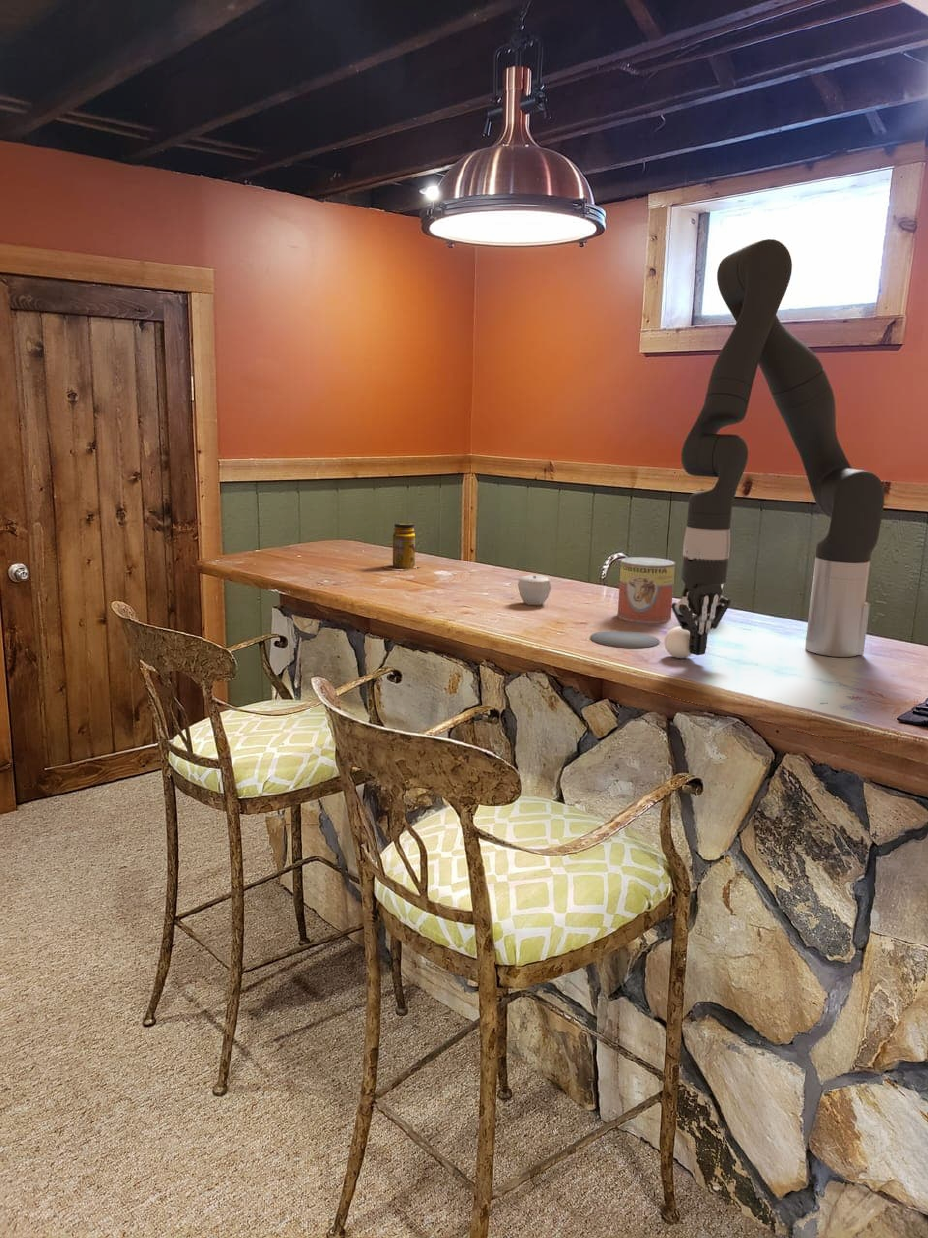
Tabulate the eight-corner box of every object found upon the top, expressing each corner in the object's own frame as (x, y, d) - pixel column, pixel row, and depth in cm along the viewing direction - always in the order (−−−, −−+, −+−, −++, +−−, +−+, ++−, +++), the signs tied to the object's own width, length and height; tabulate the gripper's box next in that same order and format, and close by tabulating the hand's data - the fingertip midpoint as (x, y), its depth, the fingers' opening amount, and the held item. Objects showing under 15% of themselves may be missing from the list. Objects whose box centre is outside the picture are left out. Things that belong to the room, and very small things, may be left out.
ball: (706, 647, 161) (681, 638, 165) (699, 625, 158) (674, 616, 162) (687, 668, 159) (662, 658, 164) (679, 646, 156) (654, 636, 160)
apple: (510, 601, 207) (511, 572, 205) (541, 599, 209) (543, 571, 208) (524, 608, 199) (526, 579, 198) (557, 606, 202) (558, 577, 201)
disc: (649, 632, 180) (649, 631, 180) (667, 648, 167) (667, 647, 167) (584, 631, 179) (584, 630, 179) (597, 648, 167) (597, 646, 167)
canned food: (612, 619, 191) (616, 562, 188) (622, 609, 201) (625, 555, 198) (667, 625, 187) (671, 567, 184) (674, 614, 197) (678, 559, 195)
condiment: (421, 568, 249) (422, 524, 246) (397, 571, 243) (398, 526, 240) (404, 564, 254) (404, 521, 251) (380, 567, 248) (380, 523, 245)
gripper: (713, 549, 161) (705, 644, 165) (662, 553, 153) (654, 653, 157) (749, 555, 155) (739, 654, 159) (697, 560, 147) (688, 663, 151)
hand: (697, 653), depth 158 cm, fingers closed
